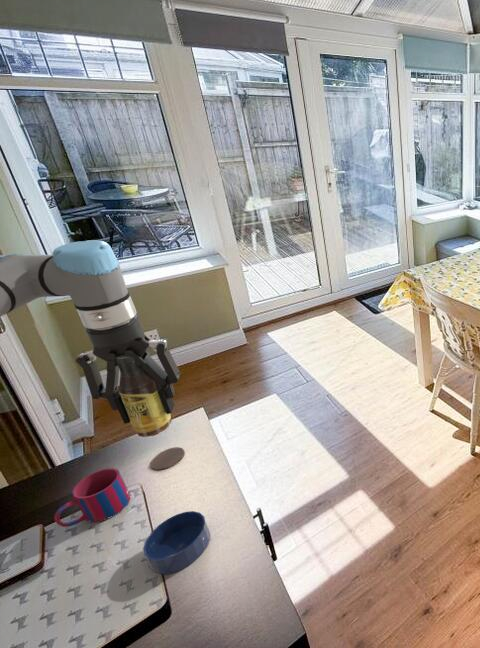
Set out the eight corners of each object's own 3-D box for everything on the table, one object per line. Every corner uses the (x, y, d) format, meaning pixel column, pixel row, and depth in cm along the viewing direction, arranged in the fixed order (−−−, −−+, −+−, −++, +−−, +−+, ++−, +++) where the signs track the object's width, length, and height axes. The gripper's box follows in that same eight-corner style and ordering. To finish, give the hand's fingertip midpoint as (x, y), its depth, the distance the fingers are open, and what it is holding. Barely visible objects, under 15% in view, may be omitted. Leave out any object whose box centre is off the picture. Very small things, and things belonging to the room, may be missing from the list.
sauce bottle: (128, 436, 87) (93, 359, 79) (156, 415, 92) (125, 341, 84) (155, 441, 86) (122, 363, 78) (181, 419, 91) (153, 345, 83)
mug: (137, 501, 83) (125, 477, 81) (70, 544, 75) (55, 519, 73) (122, 486, 86) (110, 462, 83) (56, 526, 78) (41, 501, 75)
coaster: (147, 473, 89) (147, 472, 89) (155, 453, 94) (155, 452, 94) (181, 464, 91) (180, 463, 91) (187, 445, 96) (186, 444, 96)
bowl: (143, 583, 70) (136, 569, 68) (158, 536, 77) (151, 522, 76) (205, 561, 73) (199, 547, 72) (214, 518, 81) (208, 504, 79)
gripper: (32, 342, 71) (82, 440, 81) (169, 320, 79) (201, 413, 88) (53, 321, 77) (98, 415, 87) (178, 303, 85) (207, 391, 94)
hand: (150, 414), depth 87 cm, fingers closed on sauce bottle, 6 cm apart
